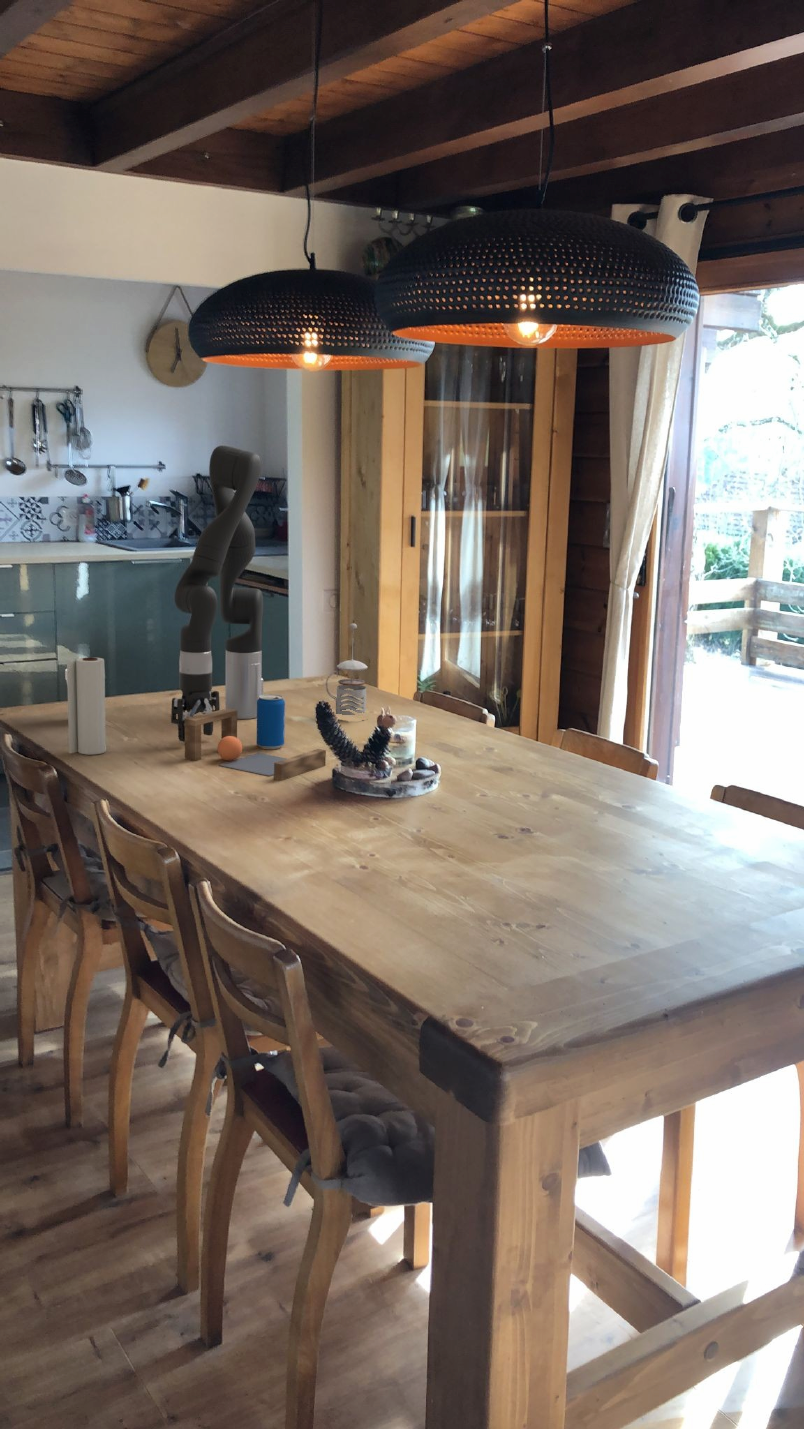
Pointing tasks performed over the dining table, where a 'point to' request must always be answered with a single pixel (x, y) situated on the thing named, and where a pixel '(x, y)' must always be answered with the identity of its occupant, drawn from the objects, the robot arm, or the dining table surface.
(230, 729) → the bridge
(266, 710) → the beverage can
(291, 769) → the stopper
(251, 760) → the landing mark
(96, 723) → the paper towel roll
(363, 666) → the french press
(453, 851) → the dining table surface
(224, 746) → the ball
